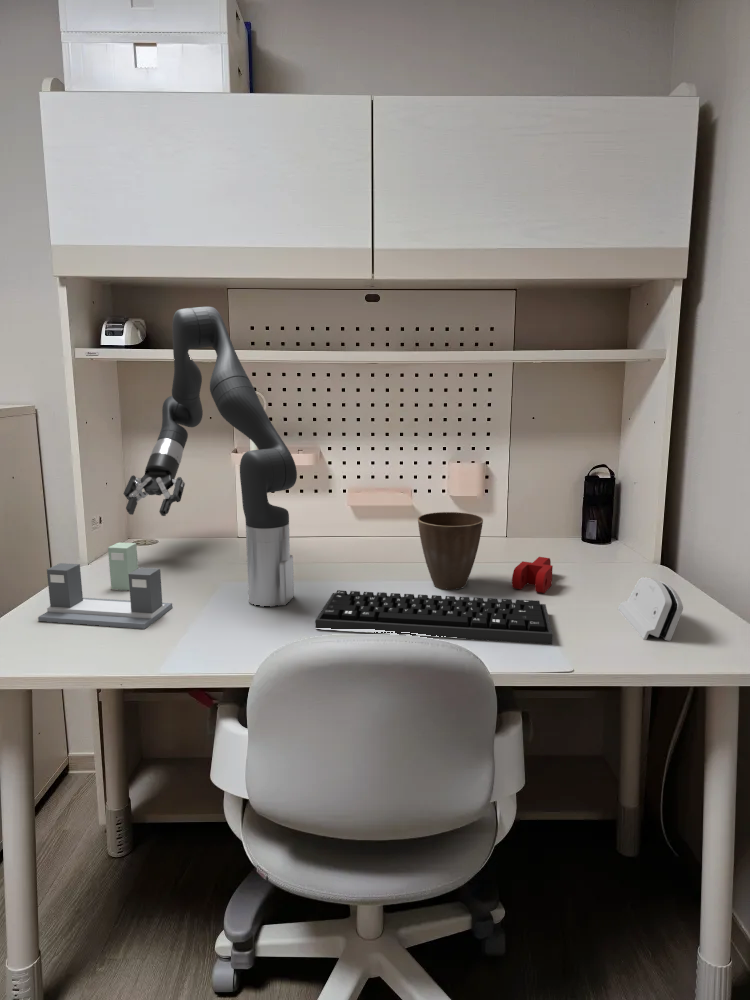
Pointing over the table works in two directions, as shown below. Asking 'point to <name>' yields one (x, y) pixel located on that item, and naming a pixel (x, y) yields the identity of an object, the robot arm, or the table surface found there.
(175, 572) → the table surface
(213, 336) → the robot arm
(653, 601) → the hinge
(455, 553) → the plant pot
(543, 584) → the mechanical linkage
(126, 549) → the block
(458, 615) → the computer keyboard
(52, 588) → the rail board
